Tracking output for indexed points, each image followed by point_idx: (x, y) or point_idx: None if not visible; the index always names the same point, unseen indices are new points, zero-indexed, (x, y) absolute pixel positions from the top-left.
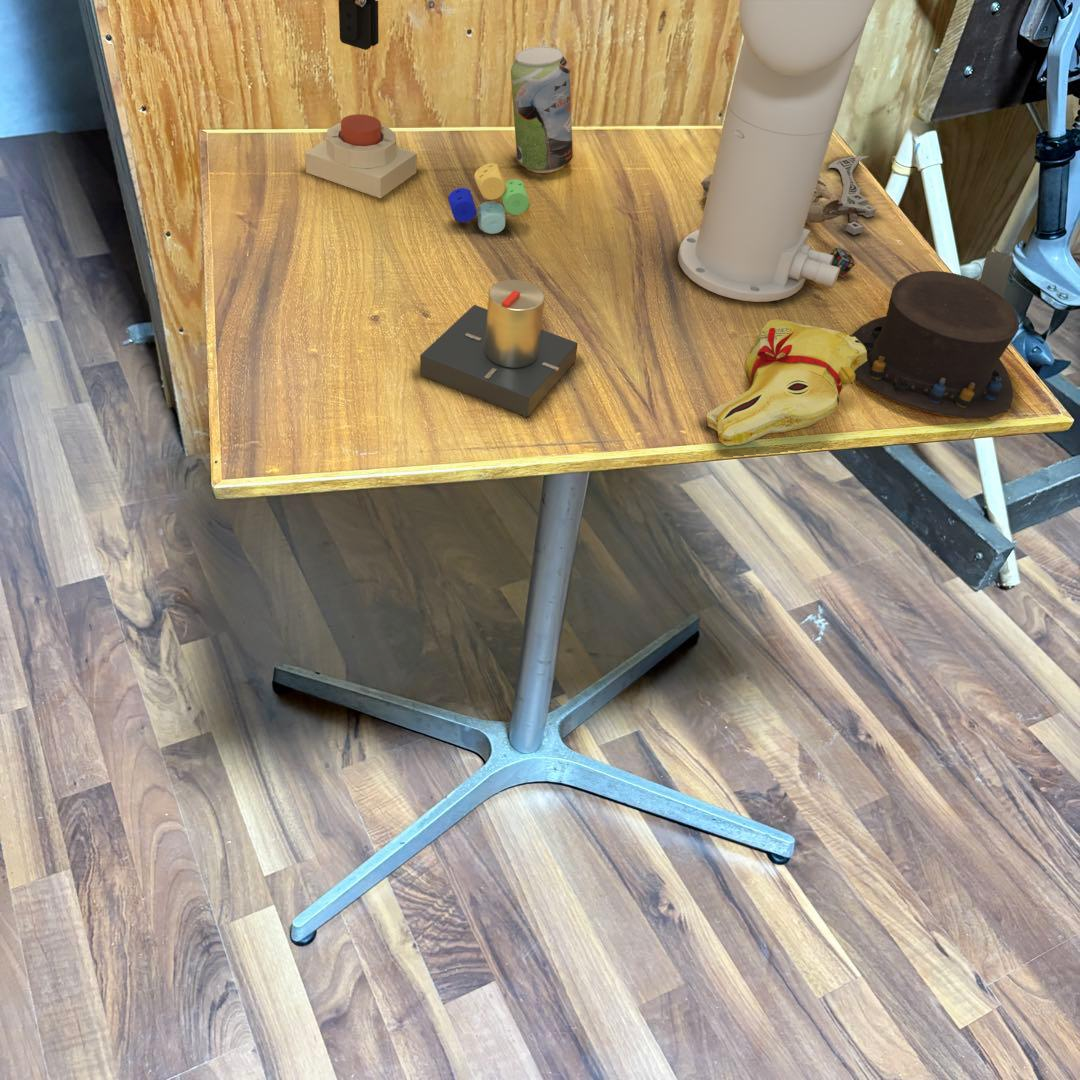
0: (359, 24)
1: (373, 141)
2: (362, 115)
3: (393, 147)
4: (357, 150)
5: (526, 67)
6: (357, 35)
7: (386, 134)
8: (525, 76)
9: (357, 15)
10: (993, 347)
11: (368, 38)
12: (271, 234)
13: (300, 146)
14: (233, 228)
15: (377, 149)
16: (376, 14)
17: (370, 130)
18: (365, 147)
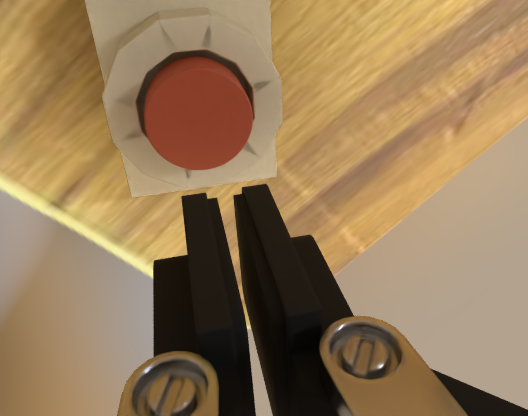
0: (305, 270)
1: (208, 60)
2: (162, 147)
3: (166, 16)
4: (268, 63)
5: None
6: (309, 239)
7: (142, 66)
8: None
9: (336, 301)
10: None
11: (274, 204)
12: (489, 47)
13: None
14: (495, 109)
15: (231, 26)
16: (210, 276)
17: (218, 74)
18: (242, 59)
